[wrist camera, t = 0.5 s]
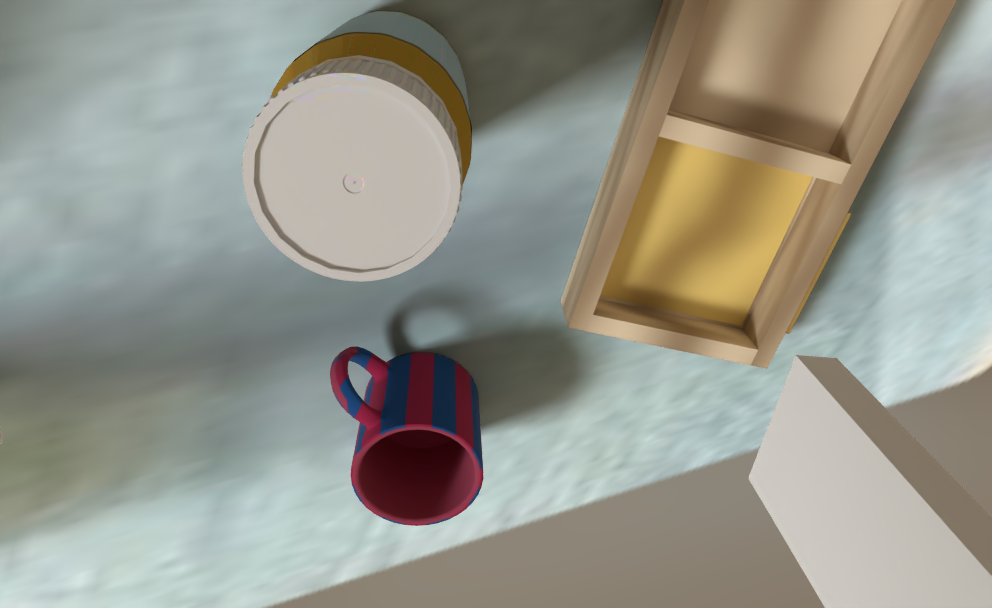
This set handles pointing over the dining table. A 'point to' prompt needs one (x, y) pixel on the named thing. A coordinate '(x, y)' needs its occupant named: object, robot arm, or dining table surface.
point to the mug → (413, 435)
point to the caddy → (741, 167)
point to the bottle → (362, 149)
